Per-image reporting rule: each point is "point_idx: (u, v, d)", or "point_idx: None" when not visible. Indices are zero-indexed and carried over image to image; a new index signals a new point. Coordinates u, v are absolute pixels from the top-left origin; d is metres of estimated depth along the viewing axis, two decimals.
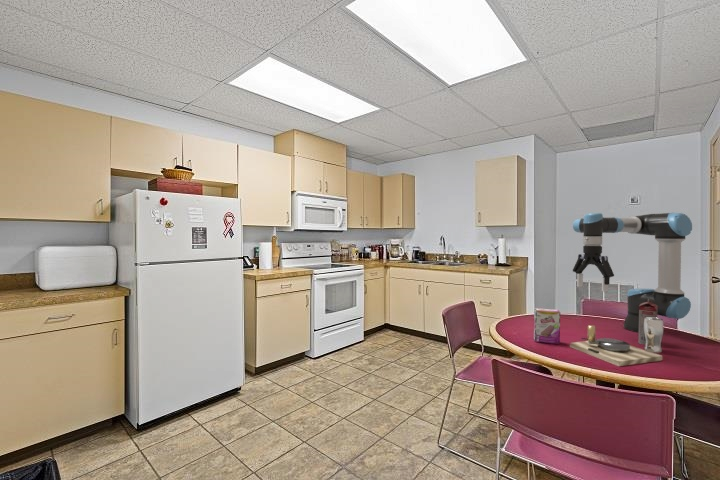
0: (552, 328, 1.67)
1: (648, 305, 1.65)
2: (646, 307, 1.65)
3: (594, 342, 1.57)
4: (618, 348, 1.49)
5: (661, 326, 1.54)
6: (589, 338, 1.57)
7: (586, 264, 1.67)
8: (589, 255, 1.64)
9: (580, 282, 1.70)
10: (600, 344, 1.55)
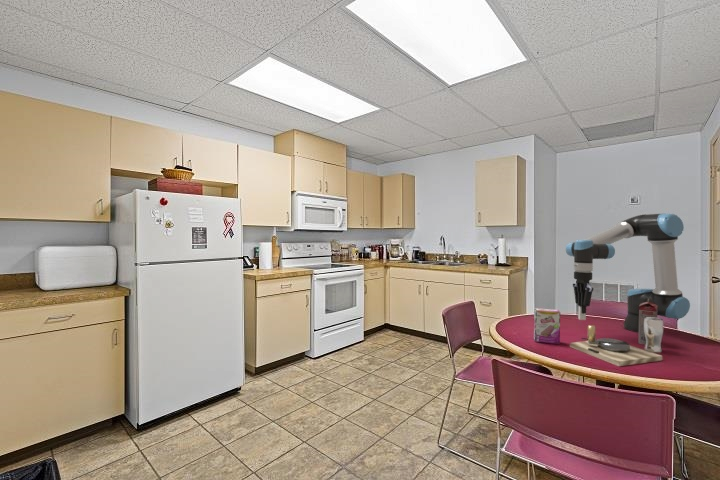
0: (552, 328, 1.67)
1: (648, 305, 1.65)
2: (645, 307, 1.65)
3: (594, 342, 1.57)
4: (618, 348, 1.49)
5: (661, 326, 1.54)
6: (589, 338, 1.57)
7: None
8: (579, 281, 1.65)
9: None
10: (600, 344, 1.55)
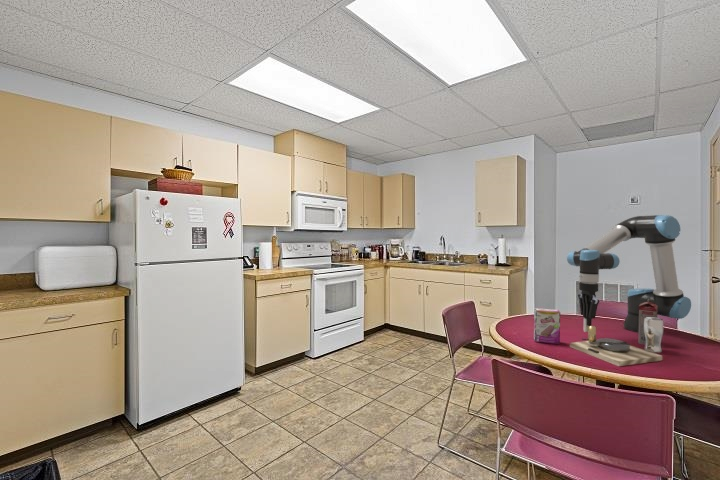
0: (552, 328, 1.67)
1: (648, 305, 1.65)
2: (645, 307, 1.65)
3: (595, 343, 1.56)
4: (620, 348, 1.49)
5: (661, 326, 1.54)
6: (590, 339, 1.57)
7: None
8: (585, 292, 1.60)
9: None
10: (601, 344, 1.54)
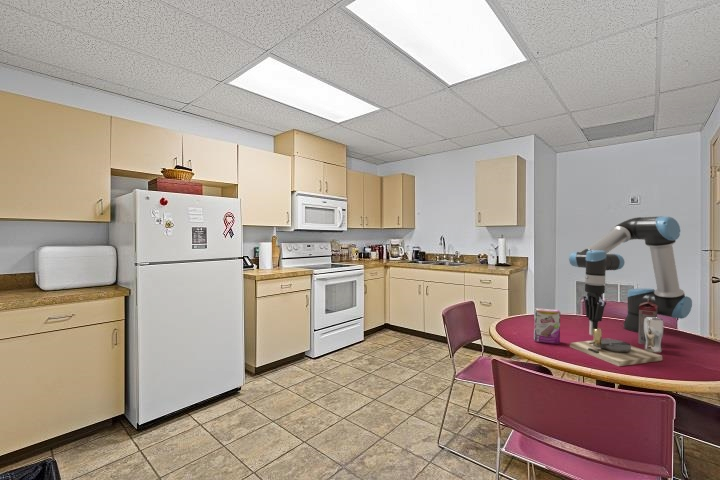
0: (552, 328, 1.67)
1: (648, 305, 1.65)
2: (645, 307, 1.65)
3: (601, 345, 1.52)
4: (626, 349, 1.49)
5: (661, 326, 1.54)
6: (597, 342, 1.52)
7: None
8: (591, 294, 1.55)
9: None
10: (607, 347, 1.51)
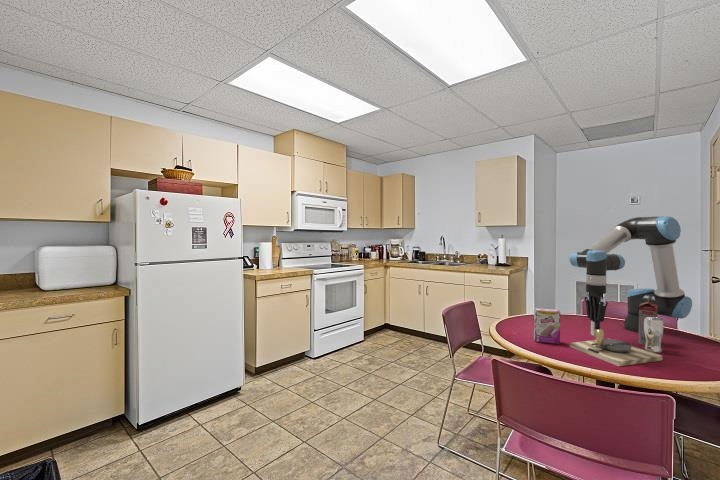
0: (552, 328, 1.67)
1: (648, 305, 1.65)
2: (645, 307, 1.65)
3: (603, 346, 1.51)
4: (628, 349, 1.49)
5: (661, 326, 1.54)
6: (600, 343, 1.51)
7: None
8: (592, 294, 1.55)
9: None
10: (609, 347, 1.51)
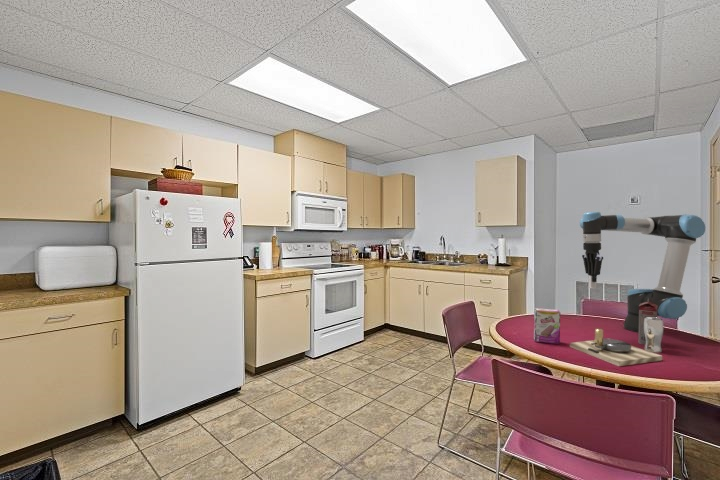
0: (552, 328, 1.67)
1: (648, 305, 1.65)
2: (645, 307, 1.65)
3: (603, 346, 1.51)
4: (627, 349, 1.49)
5: (661, 326, 1.54)
6: (599, 343, 1.51)
7: None
8: (589, 252, 1.73)
9: None
10: (609, 347, 1.51)
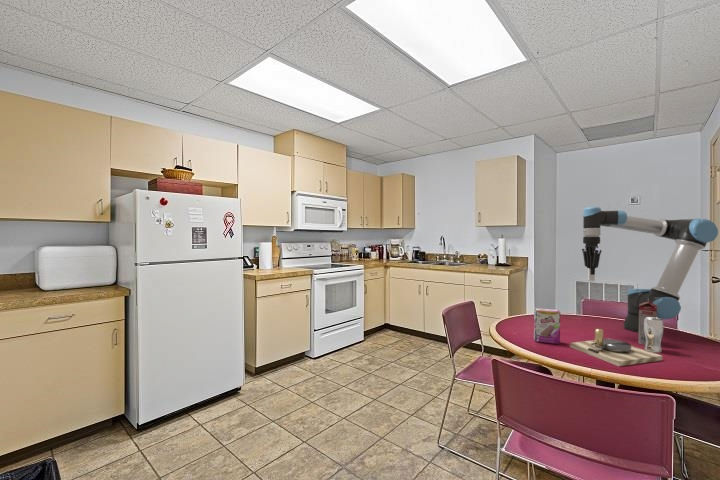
0: (552, 328, 1.67)
1: (648, 305, 1.65)
2: (645, 307, 1.65)
3: (603, 346, 1.51)
4: (627, 349, 1.49)
5: (661, 326, 1.54)
6: (599, 343, 1.51)
7: None
8: (588, 245, 1.80)
9: None
10: (609, 347, 1.51)
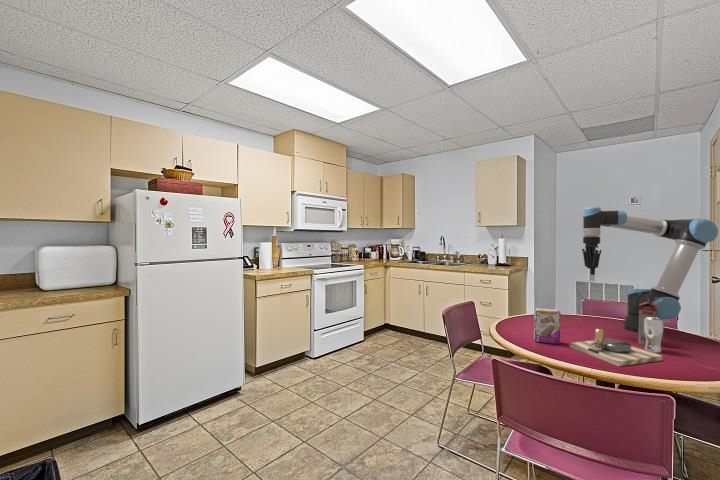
0: (552, 328, 1.67)
1: (648, 305, 1.65)
2: (645, 307, 1.65)
3: (603, 346, 1.51)
4: (627, 349, 1.49)
5: (661, 326, 1.54)
6: (599, 343, 1.51)
7: None
8: (588, 245, 1.80)
9: None
10: (609, 347, 1.51)
